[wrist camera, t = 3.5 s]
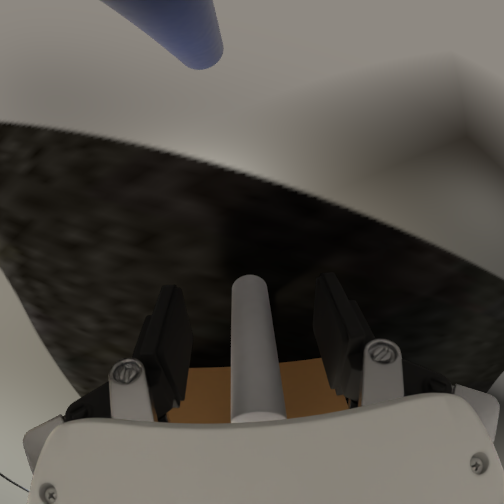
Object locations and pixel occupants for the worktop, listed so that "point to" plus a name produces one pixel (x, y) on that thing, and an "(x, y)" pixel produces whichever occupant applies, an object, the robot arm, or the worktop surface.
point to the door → (255, 373)
